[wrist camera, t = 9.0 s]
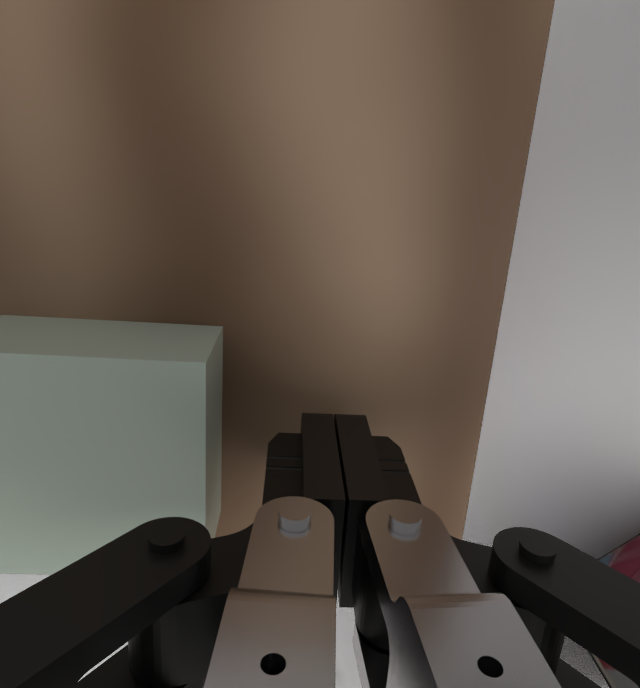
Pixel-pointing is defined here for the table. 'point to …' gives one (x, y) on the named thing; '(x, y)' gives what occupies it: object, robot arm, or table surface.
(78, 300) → the walnut board
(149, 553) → the robot arm
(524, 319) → the table surface
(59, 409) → the sage tile
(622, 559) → the juice carton
